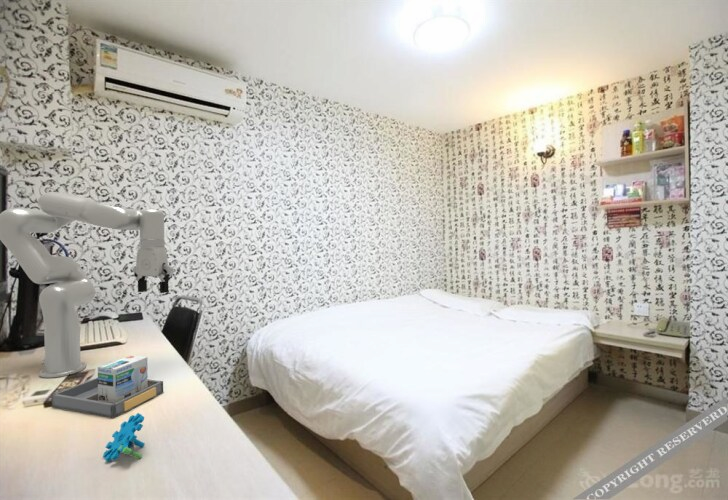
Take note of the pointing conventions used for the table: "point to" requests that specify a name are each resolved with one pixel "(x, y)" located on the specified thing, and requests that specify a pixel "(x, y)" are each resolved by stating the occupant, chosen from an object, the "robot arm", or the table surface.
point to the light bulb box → (122, 378)
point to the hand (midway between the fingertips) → (153, 291)
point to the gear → (125, 439)
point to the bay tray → (87, 401)
